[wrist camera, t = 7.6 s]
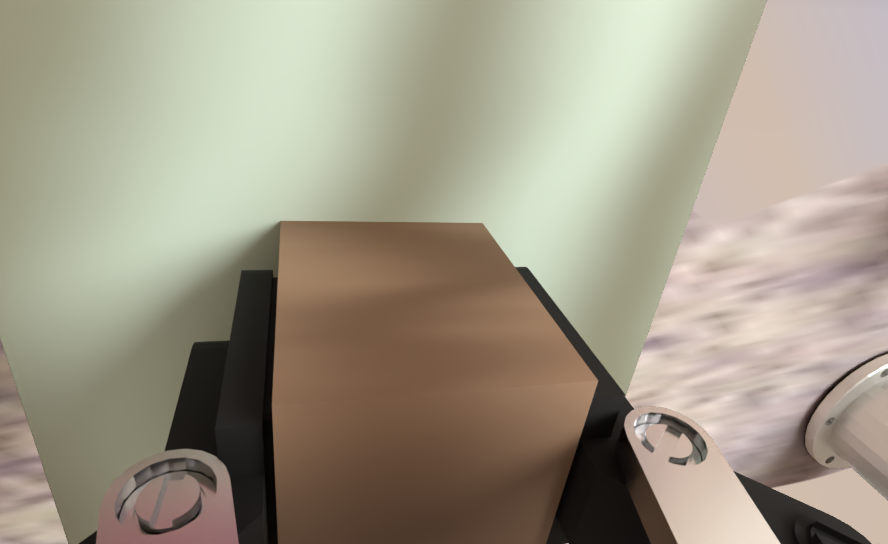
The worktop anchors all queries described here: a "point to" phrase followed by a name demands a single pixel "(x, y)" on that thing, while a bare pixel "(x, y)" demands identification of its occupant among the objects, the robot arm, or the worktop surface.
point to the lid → (350, 234)
